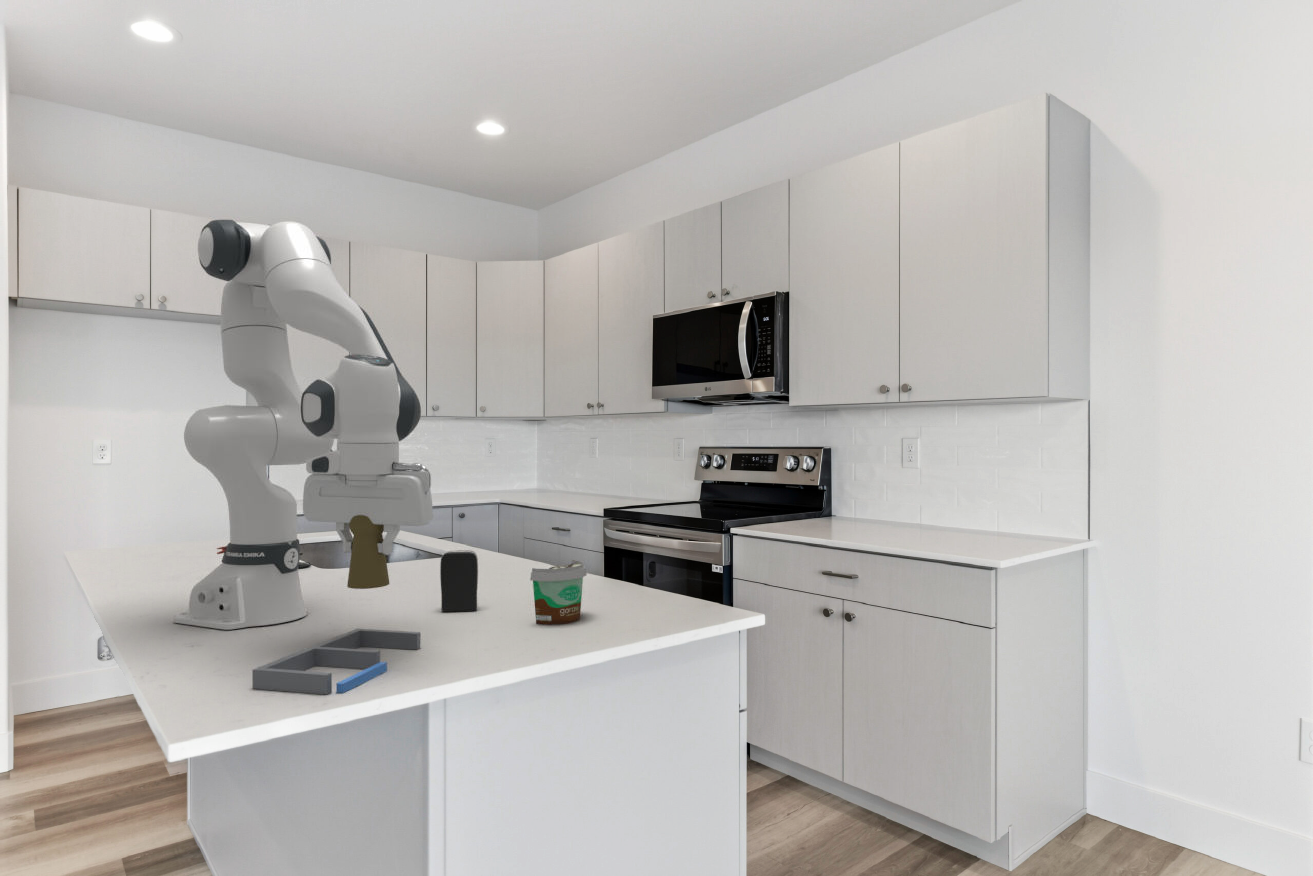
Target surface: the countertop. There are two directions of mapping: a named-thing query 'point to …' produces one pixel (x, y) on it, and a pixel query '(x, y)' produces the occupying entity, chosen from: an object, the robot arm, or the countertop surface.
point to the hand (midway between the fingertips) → (367, 553)
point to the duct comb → (333, 662)
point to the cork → (366, 555)
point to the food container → (558, 593)
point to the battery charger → (459, 581)
